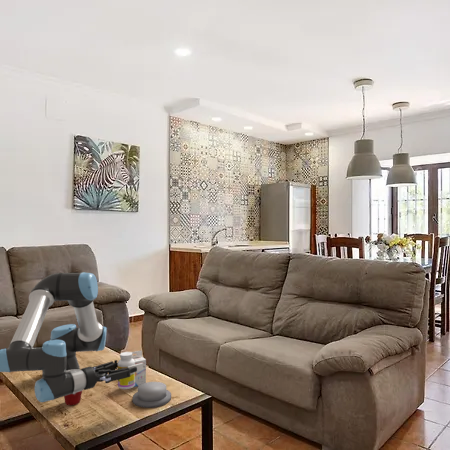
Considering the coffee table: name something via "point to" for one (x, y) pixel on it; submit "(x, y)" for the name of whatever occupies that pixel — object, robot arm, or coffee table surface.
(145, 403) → the grey hat
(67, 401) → the plastic cup
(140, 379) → the ink box
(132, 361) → the supplement bottle
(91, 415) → the coffee table surface
